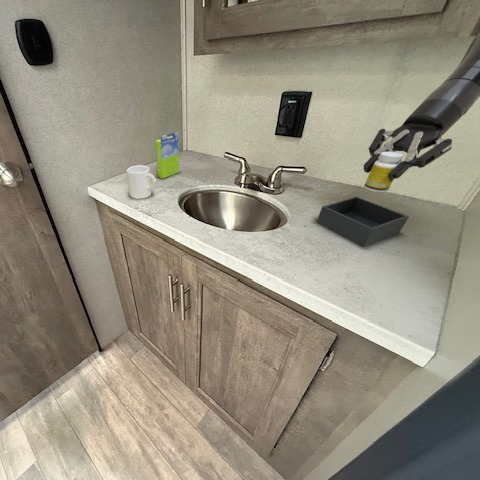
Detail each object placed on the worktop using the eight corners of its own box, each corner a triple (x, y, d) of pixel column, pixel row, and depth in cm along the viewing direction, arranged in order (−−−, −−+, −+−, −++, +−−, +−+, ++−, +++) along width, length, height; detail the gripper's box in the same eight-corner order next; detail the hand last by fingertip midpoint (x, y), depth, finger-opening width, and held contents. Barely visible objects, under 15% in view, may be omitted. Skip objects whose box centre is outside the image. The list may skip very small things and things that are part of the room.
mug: (149, 203, 85) (147, 176, 80) (125, 195, 92) (122, 170, 86) (163, 195, 90) (162, 169, 85) (140, 188, 97) (137, 163, 91)
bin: (349, 211, 73) (356, 196, 70) (398, 233, 63) (409, 216, 60) (316, 222, 69) (322, 206, 66) (363, 247, 59) (372, 229, 56)
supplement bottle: (387, 194, 56) (406, 158, 52) (362, 190, 59) (378, 155, 54) (387, 187, 59) (405, 152, 55) (364, 183, 62) (379, 149, 57)
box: (173, 170, 112) (172, 130, 102) (180, 172, 109) (179, 131, 99) (156, 177, 106) (153, 135, 96) (162, 179, 103) (160, 136, 94)
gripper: (401, 95, 56) (344, 157, 60) (489, 99, 45) (412, 174, 48) (404, 117, 60) (351, 173, 64) (485, 126, 49) (414, 193, 53)
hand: (377, 174), depth 56 cm, fingers closed on supplement bottle, 4 cm apart
